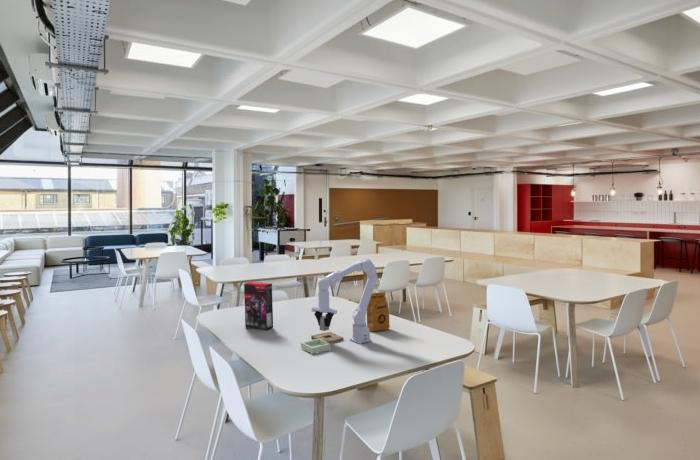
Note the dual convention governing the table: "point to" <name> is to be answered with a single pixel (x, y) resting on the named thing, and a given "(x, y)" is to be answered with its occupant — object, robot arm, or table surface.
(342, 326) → the table surface
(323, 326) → the pin
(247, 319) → the graphics card box
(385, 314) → the coffee package
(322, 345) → the tray
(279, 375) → the table surface
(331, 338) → the tan flat square frame
